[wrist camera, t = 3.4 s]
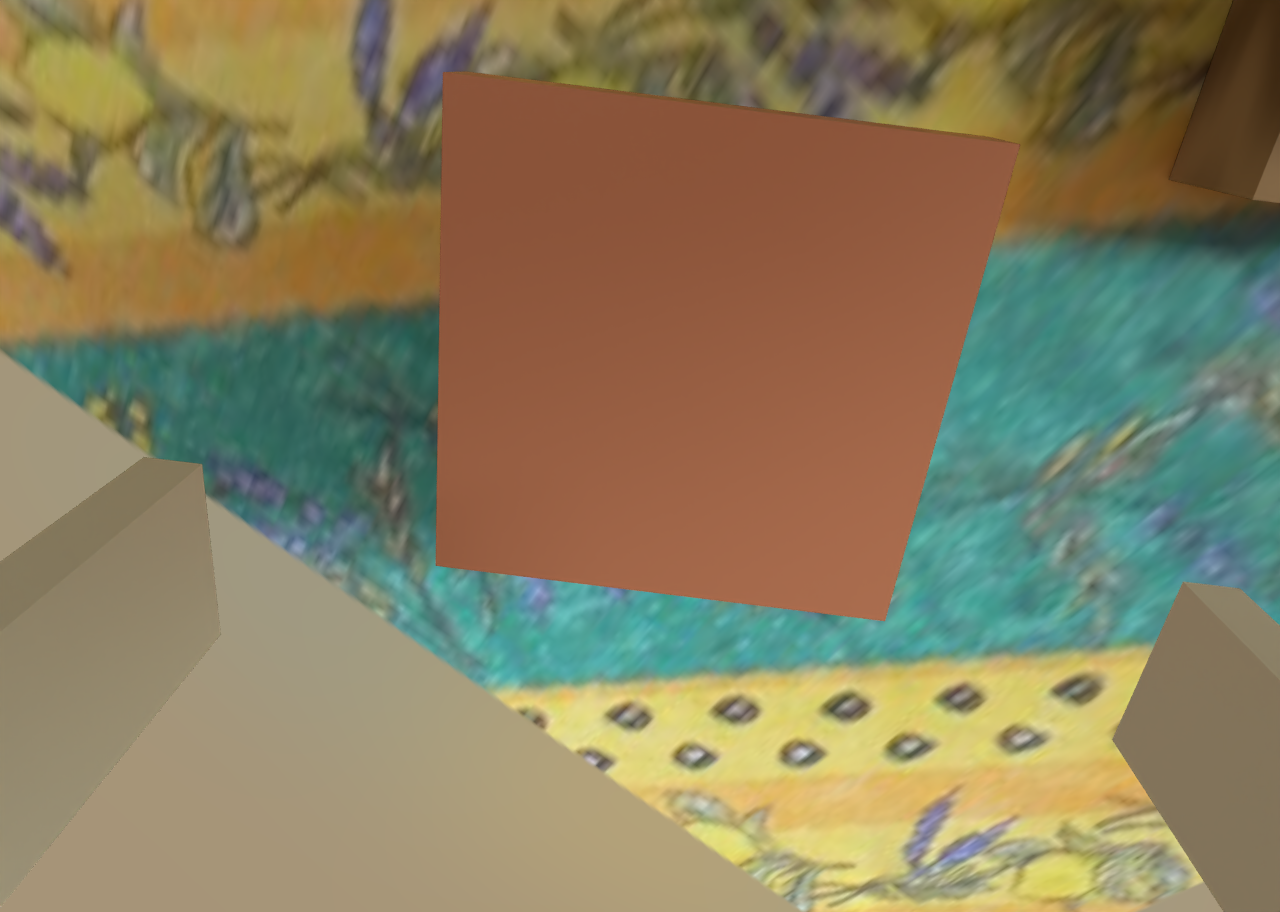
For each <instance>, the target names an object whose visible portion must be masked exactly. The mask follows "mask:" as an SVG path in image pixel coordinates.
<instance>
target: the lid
mask: <svg viewBox="0 0 1280 912" xmlns="http://www.w3.org/2000/svg"><path fill="white" fill-rule="evenodd" d="M1019 147H1020V144H1016V143H1012V142H1008V141H1004V140H999V139H995V138H991V137H985V136H977V135H969V134H961V133H953V132H945V131H937V130H929V129H921V128H913V127H905V126H897V125H889V124H881V123H873V122H865V121H857V120H849V119H841V118H833V117H825V116H817V115H809V114H801V113H793V112H785V111H777V110H769V109H761V108H753V107H745V106H737V105H729V104H721V103H713V102H705V101H697V100H690V99H682V98H674V97H666V96H658V95H650V94H642V93H634V92H626V91H618V90H610V89H602V88H594V87H586V86H578V85H570V84H562V83H554V82H546V81H538V80H530V79H522V78H514V77H506V76H498V75H490V74H482V73H474V72H443V109H442V176H441V243H440V311H439V378H438V445H437V512H436V566H442V567H450V568H458V569H467V570H475V571H483V572H491V573H499V574H507V575H515V576H523V577H531V578H540V579H548V580H556V581H564V582H572V583H580V584H588V585H596V586H604V587H613V588H621V589H629V590H637V591H645V592H653V593H661V594H669V595H678V596H686V597H694V598H702V599H710V600H718V601H726V602H734V603H742V604H751V605H759V606H767V607H775V608H783V609H791V610H799V611H807V612H815V613H824V614H832V615H840V616H848V617H856V618H864V619H872V620H880V621H885V619H886V615H887V612H888V608H889V605H890V601H891V598H892V594H893V591H894V587H895V583H896V580H897V576H898V573H899V569H900V566H901V562H902V559H903V555H904V552H905V548H906V545H907V541H908V538H909V534H910V531H911V527H912V524H913V520H914V517H915V513H916V510H917V506H918V503H919V499H920V496H921V492H922V489H923V485H924V481H925V478H926V474H927V471H928V467H929V464H930V460H931V457H932V453H933V450H934V446H935V443H936V439H937V436H938V432H939V429H940V425H941V422H942V418H943V415H944V411H945V408H946V404H947V401H948V397H949V394H950V390H951V387H952V383H953V380H954V376H955V372H956V369H957V365H958V362H959V358H960V355H961V351H962V348H963V344H964V341H965V337H966V334H967V330H968V327H969V323H970V320H971V316H972V313H973V309H974V306H975V302H976V299H977V295H978V292H979V288H980V285H981V281H982V278H983V274H984V271H985V267H986V263H987V260H988V256H989V253H990V249H991V246H992V242H993V239H994V235H995V232H996V228H997V225H998V221H999V218H1000V214H1001V211H1002V207H1003V204H1004V200H1005V197H1006V193H1007V190H1008V186H1009V183H1010V179H1011V176H1012V172H1013V169H1014V165H1015V161H1016V158H1017V154H1018V151H1019Z"/></svg>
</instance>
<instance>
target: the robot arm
mask: <svg viewBox="0 0 1280 912" xmlns="http://www.w3.org/2000/svg"><path fill="white" fill-rule="evenodd" d="M220 635H221V632H220V622H219V613H218V604H217V595H216V586H215V577H214V568H213V559H212V550H211V541H210V532H209V523H208V514H207V505H206V496H205V487H204V478H203V469H202V464H197V463H189V462H180V461H172V460H164V459H155V458H147V457H144V458H142V459H141V460H140V461H138V462H137V463H135V464H134V465H133V466H131V467H130V468H129V469H127V470H126V471H124V472H123V473H122V474H120V475H119V476H118V477H116V478H115V479H113V480H112V481H111V482H110V483H108V484H106V485H105V486H104V487H102V488H101V489H100V490H98V491H97V492H95V493H94V494H93V495H92V496H90V497H89V498H87V499H86V500H84V501H83V502H82V503H80V504H79V505H78V506H76V507H75V508H73V509H72V510H71V511H69V512H68V513H67V514H65V515H64V516H62V517H61V518H60V519H58V520H57V521H56V522H54V523H53V524H52V525H50V526H49V527H48V528H46V529H45V530H43V531H42V532H41V533H39V534H38V535H36V536H35V537H34V538H32V539H31V540H29V541H28V542H27V543H25V544H24V545H23V546H21V547H20V548H19V549H17V550H16V551H14V552H13V553H12V554H10V555H9V556H7V557H6V558H5V559H3V560H2V561H1V562H0V907H1V906H2V905H3V904H4V903H5V901H6V900H7V899H8V898H9V896H10V895H11V894H12V893H13V891H14V890H15V889H16V888H17V886H18V885H19V884H20V883H21V881H22V880H23V879H24V878H25V876H26V875H27V874H28V873H29V872H30V870H31V869H32V868H33V867H34V865H35V864H36V863H37V862H38V860H39V859H40V858H41V856H42V855H43V854H44V853H45V852H46V851H47V849H48V848H49V847H50V846H51V844H52V843H53V842H54V841H55V839H56V838H57V837H58V836H59V834H60V833H61V832H62V831H63V829H64V828H65V827H66V826H67V824H68V823H69V822H70V821H71V820H72V818H73V817H74V816H75V815H76V813H77V812H78V811H79V810H80V808H81V807H82V806H83V805H84V803H85V802H86V801H87V800H88V799H89V797H90V796H91V795H92V793H93V792H94V791H95V790H96V788H97V787H98V786H99V785H100V784H101V782H102V781H103V780H104V779H105V777H106V776H107V775H108V774H109V772H110V771H111V770H112V769H113V768H114V766H115V765H116V764H117V763H118V761H119V760H120V759H121V758H122V756H123V755H124V754H125V753H126V751H127V750H128V749H129V748H130V746H131V745H132V744H133V743H134V741H135V740H136V739H137V737H139V735H140V734H141V733H142V732H143V730H144V729H145V728H146V726H147V725H148V724H149V723H150V722H151V721H152V719H153V718H154V717H155V716H156V714H157V713H158V712H159V711H160V709H161V708H162V707H163V706H164V704H165V703H166V702H167V701H168V699H169V698H170V697H171V696H172V695H173V693H174V692H175V691H176V690H177V688H178V687H179V686H180V685H181V683H182V682H183V681H184V680H185V678H186V677H187V676H188V675H189V673H190V672H191V671H192V670H193V669H194V667H195V666H196V665H197V663H198V662H199V661H200V660H201V659H202V657H203V656H204V655H205V654H206V652H207V651H208V650H209V648H210V647H211V646H212V645H213V644H214V643H215V641H216V640H217V639H218V638H219V636H220ZM1112 740H1113V742H1114V743H1115V745H1116V746H1117V748H1118V749H1119V751H1120V752H1121V754H1122V755H1123V757H1124V759H1125V760H1126V762H1127V763H1128V765H1129V766H1130V768H1131V769H1132V771H1133V772H1134V774H1135V776H1136V777H1137V779H1138V780H1139V782H1140V783H1141V785H1142V786H1143V788H1144V789H1145V791H1146V793H1147V794H1148V796H1149V797H1150V799H1151V800H1152V802H1153V803H1154V805H1155V806H1156V808H1157V810H1158V811H1159V813H1160V814H1161V816H1162V817H1163V819H1164V820H1165V822H1166V823H1167V825H1168V827H1169V828H1170V830H1171V831H1172V833H1173V834H1174V836H1175V837H1176V839H1177V840H1178V842H1179V844H1180V845H1181V847H1182V848H1183V850H1184V851H1185V853H1186V854H1187V856H1188V857H1189V859H1190V861H1191V862H1192V864H1193V865H1194V867H1195V868H1196V870H1197V871H1198V873H1199V874H1200V876H1201V878H1202V879H1203V881H1204V882H1205V884H1206V885H1207V887H1208V888H1209V890H1210V891H1211V893H1212V895H1213V896H1214V898H1215V899H1216V901H1217V902H1218V904H1219V905H1220V907H1221V908H1222V910H1223V912H1280V625H1278V624H1277V623H1276V622H1275V621H1274V620H1273V619H1272V618H1271V617H1270V616H1269V615H1268V614H1267V613H1266V612H1264V611H1263V610H1262V609H1261V608H1260V607H1259V606H1258V605H1257V604H1256V603H1255V602H1254V601H1253V600H1251V599H1250V598H1249V597H1248V596H1247V595H1246V594H1245V593H1244V592H1243V591H1242V590H1241V589H1239V588H1231V587H1222V586H1214V585H1206V584H1197V583H1189V582H1183V583H1182V585H1181V588H1180V590H1179V592H1178V594H1177V597H1176V599H1175V601H1174V603H1173V606H1172V608H1171V610H1170V612H1169V614H1168V617H1167V619H1166V621H1165V623H1164V626H1163V628H1162V630H1161V632H1160V635H1159V637H1158V639H1157V641H1156V643H1155V646H1154V648H1153V650H1152V652H1151V655H1150V657H1149V659H1148V661H1147V664H1146V666H1145V668H1144V670H1143V672H1142V675H1141V677H1140V679H1139V681H1138V684H1137V686H1136V688H1135V690H1134V693H1133V695H1132V697H1131V699H1130V701H1129V704H1128V706H1127V708H1126V710H1125V713H1124V715H1123V717H1122V719H1121V722H1120V724H1119V726H1118V728H1117V730H1116V733H1115V735H1114V737H1113V739H1112Z"/></svg>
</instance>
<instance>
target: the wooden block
mask: <svg viewBox="0 0 1280 912" xmlns="http://www.w3.org/2000/svg"><path fill="white" fill-rule="evenodd" d="M1169 180H1172V181H1176V182H1180V183H1185V184H1189V185H1193V186H1197V187H1201V188H1206V189H1210V190H1214V191H1218V192H1223V193H1227V194H1231V195H1235V196H1239V197H1244V198H1248V199H1252V200H1260V201H1268V202H1276V203H1280V0H1233V3H1232V6H1231V9H1230V11H1229V14H1228V17H1227V20H1226V22H1225V25H1224V28H1223V31H1222V34H1221V36H1220V39H1219V42H1218V45H1217V48H1216V50H1215V53H1214V56H1213V59H1212V61H1211V64H1210V67H1209V70H1208V73H1207V75H1206V78H1205V81H1204V84H1203V86H1202V89H1201V92H1200V95H1199V98H1198V100H1197V103H1196V106H1195V109H1194V111H1193V114H1192V117H1191V120H1190V123H1189V125H1188V128H1187V131H1186V134H1185V137H1184V139H1183V142H1182V145H1181V148H1180V150H1179V153H1178V156H1177V159H1176V162H1175V164H1174V167H1173V170H1172V173H1171V175H1170V178H1169Z"/></svg>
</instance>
